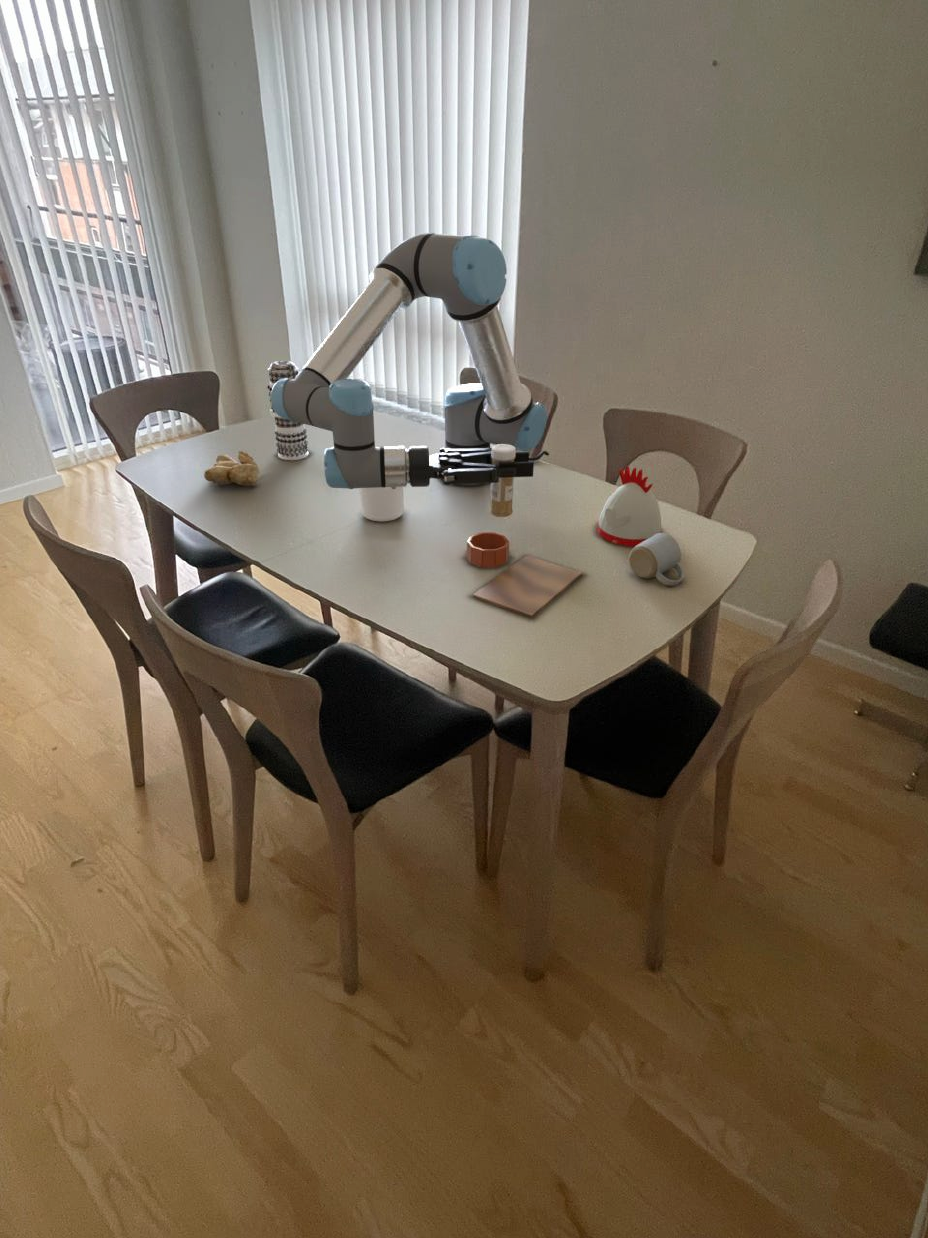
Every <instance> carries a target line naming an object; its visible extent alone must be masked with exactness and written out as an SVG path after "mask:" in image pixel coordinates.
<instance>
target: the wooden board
mask: <svg viewBox="0 0 928 1238" xmlns="http://www.w3.org/2000/svg"><path fill="white" fill-rule="evenodd" d="M582 575H583V572H581V571H578V570H575V569H571V568H568V567H565V566H563V565H559V564H556V563H552V562H549V561H546V560H543V559H539V558H537V557H533V556H530V555H525V556H524V557H523V558H521V559H520V560H518V561H517V562H515V564H512V565H511V566H510V567H508V568H507V569H506V570H504V571H503V572H502V573H500V574H499V575H497V577H495V578H494V579H493V580H491V581H490V582H488V583H486V585H484V586H483V587H481V588H480V589H479V590H478V591H476V592H474V593H473V595H472V597H473V598H474V599H477V600H479V601H483V602H486V603H489V604H492V605H493V606H496V607H498V608H499V607H500V608H502V609H506V610H508V611H511V612H512V613H517V614H519V615H522V616H524V617H527V618H530V619H533V618H534V617H535V616H536V615H537V614H538V613H539V612H541V611H542V610H543V609H544V608H545V607H547V606H548V605H549V604H550V603H551V602H552V601H553V600H555V599H556V598H557V597H558V596H560V594H561V593H563V592H564V591H565V590H566V589H568V588H569V587H570V586H571V585H572V584H574V583H575V582H576V581H577V580H578V579H579V578H580V577H581V576H582Z"/></svg>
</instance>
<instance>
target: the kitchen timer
mask: <svg viewBox="0 0 928 1238" xmlns="http://www.w3.org/2000/svg"><path fill="white" fill-rule="evenodd" d="M618 472H619V478H620V481H621V483H622V484H621V486H619V487H617V488H616V490H614V491H613V493H611V494H610V496H609V497H608V499H607V500H606V502H605V504H604V507H603V508H602V511H601V513H600V515H599V519H598V523H597V532H598V535H599V536H601V538H602V539H604V540H606V541H608V542H609V543H612V544H616V545H619V546H626V547H635V546H637V545H638V544H640V543H642V542H643V541H645V540H647V539H648V538H650V537H652V536H654V535H655V534H657V533H662V517H661V516H662V515H661V510H660V507H659V506H660V505H659V501H658V500H657V498H656V496H655V494H654V493H653V492H652V490H651V489H652V487H653V484H654V483H651V484H649V485H648V486H647V485H646V483H647V482H648V478H649V476H645V477H643V469H642V468H641V469H639V470H638V472H637V467H634V468H632V471H631V470H630V465H628V466H625V469H624V471H623V469H620V470H619V471H618Z"/></svg>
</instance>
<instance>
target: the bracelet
mask: <svg viewBox="0 0 928 1238" xmlns="http://www.w3.org/2000/svg"><path fill="white" fill-rule="evenodd" d="M509 554H510V540H509V539H508V538H507V537H506V536H505V535H503V534H500V533H497V532H494V531H493V532H491V531H490V532H478V533H475V534H472V535H470V536H469V538H468V539H467V541H466V560H467V561H468V562H469V563H470V565H473V566H474V567H475V566H476V567H478V568H483V569H493V568H494V569H495V568H498V567H501V566H504V565H506V564H507V562H508V561H509V557H510V555H509Z"/></svg>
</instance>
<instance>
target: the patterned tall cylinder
mask: <svg viewBox="0 0 928 1238" xmlns="http://www.w3.org/2000/svg"><path fill="white" fill-rule="evenodd" d="M299 369H300V368H299V367H298V366H296V364H295V363H294V362H293V361H290V360H277V361H274V362H271V364H270V366H269V367H268V368H267V369H266V371H268V377H269V385H267V386H266V388H267V389H268V396H269V402H270V403H271V391H272V388H273V386H274V385H275V383H276V382H277V381H279V380H281V379H284V378H293V379H295V378H296V376H297V375H298V374H299ZM270 409H271V410H272V416H273V417H274V421H275V424H274V427H275V431H274V434H275V440H276V441H277V442H276V443H275V446H276V447H277V449H276V452H277V457H278V458H279V459H280V460H285V461H298V460H303V459H306V458H307V457H308V456H309V447H308V441H307V438H308V435H307V429H306V427H305V426H306V425H305V424H302V423H297V422H292V421H290V420H288V419H285V418H283V417H280V416H279V415H278V414H276V413H275V411H274V409H273V408H272V405H270Z"/></svg>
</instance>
